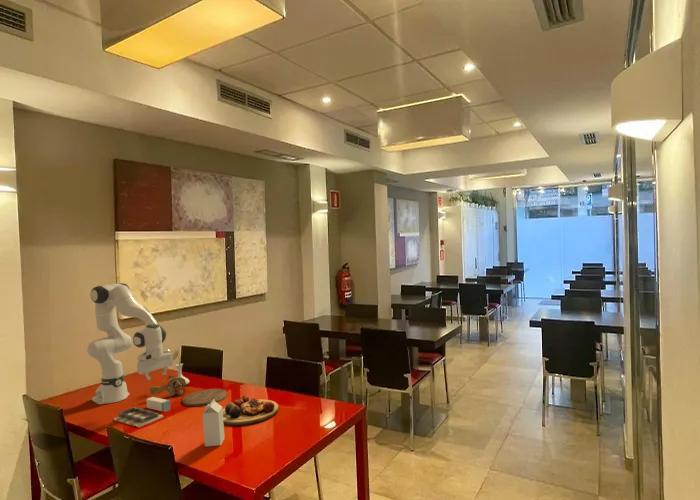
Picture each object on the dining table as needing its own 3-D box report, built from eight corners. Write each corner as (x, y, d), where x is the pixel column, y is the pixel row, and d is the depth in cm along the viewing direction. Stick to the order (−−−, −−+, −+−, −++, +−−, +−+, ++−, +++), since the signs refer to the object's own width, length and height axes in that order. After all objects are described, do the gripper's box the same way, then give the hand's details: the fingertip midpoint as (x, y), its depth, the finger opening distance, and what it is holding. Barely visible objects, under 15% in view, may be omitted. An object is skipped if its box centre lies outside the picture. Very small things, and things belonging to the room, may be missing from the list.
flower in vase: (172, 384, 289) (169, 347, 289) (190, 381, 293) (187, 345, 292) (170, 390, 277) (167, 351, 276) (189, 387, 280) (186, 349, 280)
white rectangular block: (147, 407, 247) (146, 399, 247) (153, 405, 251) (152, 396, 251) (164, 411, 239) (163, 403, 239) (170, 409, 242) (169, 400, 242)
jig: (113, 420, 232) (113, 414, 231) (138, 410, 243) (138, 405, 243) (138, 427, 219) (138, 421, 219) (163, 417, 231) (162, 411, 231)
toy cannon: (187, 394, 266) (186, 372, 266) (151, 402, 255) (149, 379, 255) (184, 390, 273) (183, 369, 273) (149, 399, 262) (147, 376, 262)
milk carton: (224, 438, 200) (221, 398, 200) (220, 445, 193) (217, 403, 192) (209, 439, 200) (206, 399, 199) (204, 447, 192) (201, 405, 192)
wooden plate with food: (291, 408, 233) (290, 393, 233) (246, 430, 207) (245, 413, 207) (250, 400, 251) (249, 386, 251) (204, 420, 225) (203, 404, 225)
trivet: (233, 391, 268) (233, 388, 268) (217, 406, 243) (216, 403, 243) (194, 392, 270) (194, 389, 270) (174, 407, 245) (174, 404, 245)
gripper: (167, 348, 255) (169, 371, 255) (134, 357, 237) (136, 382, 238) (174, 349, 251) (176, 372, 252) (141, 358, 234) (143, 383, 234)
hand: (156, 377), depth 244 cm, fingers open, 8 cm apart
